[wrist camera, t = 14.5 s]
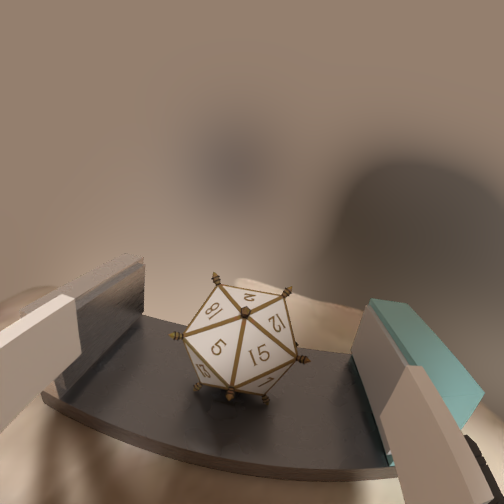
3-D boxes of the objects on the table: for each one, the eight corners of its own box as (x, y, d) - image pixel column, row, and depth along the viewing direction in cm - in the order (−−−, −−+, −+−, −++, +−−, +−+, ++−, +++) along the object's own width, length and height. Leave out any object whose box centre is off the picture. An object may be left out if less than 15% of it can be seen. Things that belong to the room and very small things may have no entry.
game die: (203, 411, 21) (155, 298, 22) (294, 370, 24) (252, 264, 25) (224, 457, 12) (147, 284, 14) (354, 389, 15) (295, 233, 16)
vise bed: (431, 471, 13) (489, 393, 11) (43, 402, 14) (19, 309, 12) (385, 369, 26) (411, 305, 24) (124, 322, 28) (125, 253, 26)
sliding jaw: (437, 459, 12) (485, 393, 11) (383, 466, 12) (431, 397, 11) (386, 356, 26) (407, 303, 24) (347, 353, 26) (366, 297, 25)
